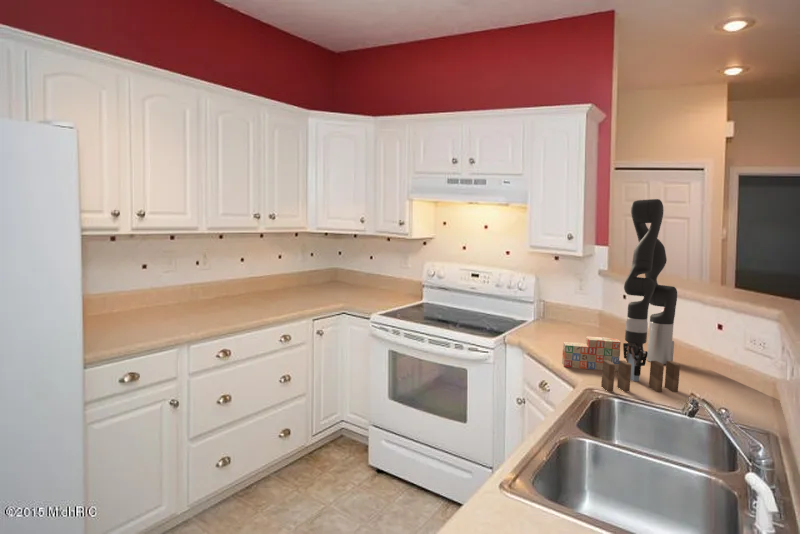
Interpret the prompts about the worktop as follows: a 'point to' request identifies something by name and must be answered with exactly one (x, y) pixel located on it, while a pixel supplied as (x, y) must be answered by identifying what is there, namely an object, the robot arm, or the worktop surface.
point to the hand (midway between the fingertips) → (633, 373)
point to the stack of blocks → (591, 353)
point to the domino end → (608, 375)
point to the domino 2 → (631, 361)
